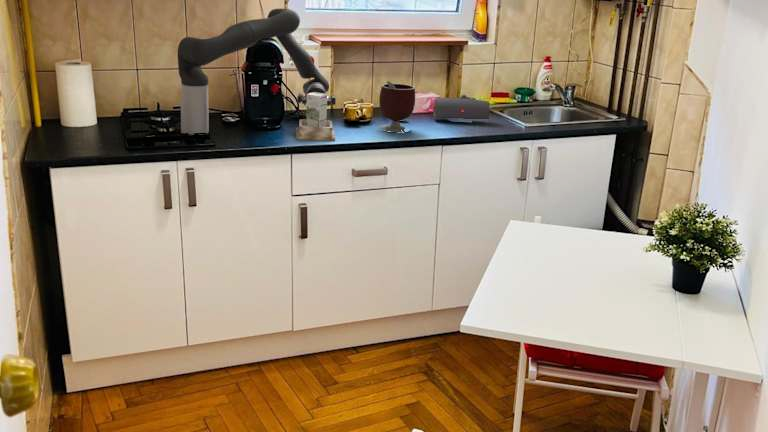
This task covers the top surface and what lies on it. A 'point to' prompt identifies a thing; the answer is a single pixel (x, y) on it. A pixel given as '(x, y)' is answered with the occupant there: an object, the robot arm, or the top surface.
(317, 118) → the syrup box
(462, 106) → the bluetooth speaker
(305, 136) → the beige square tray
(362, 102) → the tin
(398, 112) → the mate gourd
